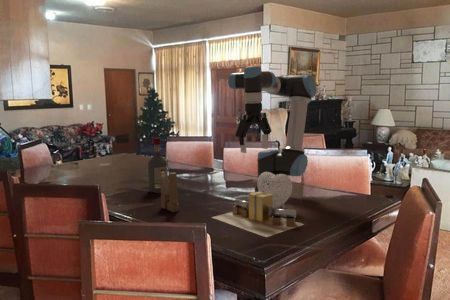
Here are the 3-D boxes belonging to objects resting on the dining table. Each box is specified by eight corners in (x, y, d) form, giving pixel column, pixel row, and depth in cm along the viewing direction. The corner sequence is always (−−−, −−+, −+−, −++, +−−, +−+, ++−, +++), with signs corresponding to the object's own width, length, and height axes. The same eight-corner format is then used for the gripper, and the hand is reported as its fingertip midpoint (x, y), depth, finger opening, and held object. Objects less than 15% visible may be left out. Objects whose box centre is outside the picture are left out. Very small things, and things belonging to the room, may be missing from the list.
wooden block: (167, 206, 193) (166, 169, 190) (179, 211, 185) (178, 173, 182) (161, 207, 190) (159, 170, 188) (172, 212, 182) (171, 174, 180)
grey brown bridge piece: (269, 225, 160) (269, 208, 159) (270, 221, 165) (270, 205, 164) (295, 227, 157) (295, 210, 156) (296, 223, 162) (296, 206, 161)
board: (248, 209, 186) (248, 207, 185) (304, 226, 160) (304, 224, 160) (211, 219, 172) (211, 217, 172) (266, 239, 146) (266, 237, 146)
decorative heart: (297, 210, 183) (297, 173, 181) (284, 215, 175) (284, 177, 173) (265, 203, 195) (265, 169, 193) (252, 208, 187) (251, 172, 185)
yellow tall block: (272, 220, 166) (272, 194, 164) (262, 223, 162) (262, 197, 160) (259, 216, 172) (259, 191, 170) (248, 219, 168) (248, 193, 167)
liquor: (147, 191, 224) (144, 138, 220) (160, 188, 231) (158, 137, 227) (157, 193, 218) (155, 139, 214) (170, 190, 225) (168, 138, 221)
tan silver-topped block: (232, 213, 177) (232, 198, 176) (240, 211, 180) (240, 196, 179) (247, 218, 169) (246, 202, 169) (255, 215, 173) (255, 200, 172)
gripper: (266, 101, 185) (267, 146, 188) (226, 104, 168) (228, 153, 172) (278, 101, 179) (279, 147, 182) (238, 104, 163) (240, 155, 166)
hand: (254, 150), depth 177 cm, fingers open, 13 cm apart
